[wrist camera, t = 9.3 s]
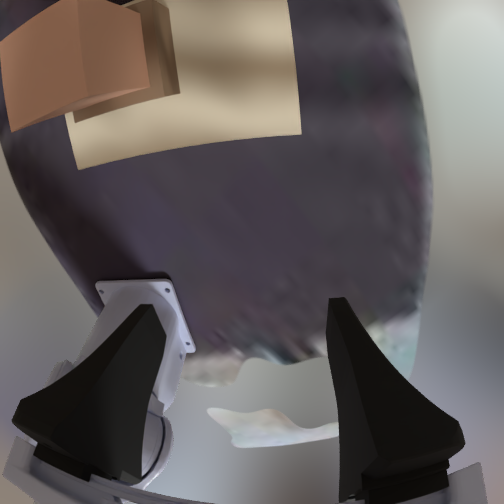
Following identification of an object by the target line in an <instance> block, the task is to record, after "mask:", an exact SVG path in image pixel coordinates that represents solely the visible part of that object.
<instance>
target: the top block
mask: <svg viewBox="0 0 504 504" xmlns="http://www.w3.org/2000/svg"><path fill="white" fill-rule="evenodd" d="M0 58H1V70H2V80H3V88H4V95H5V101H6V107H7V113H8V118H9V123H10V128H11V133H12V132H15V131H17V130H20V129H22V128H25V127H27V126H30V125H33V124H35V123H38V122H41V121H44V120H47V119H50V118H53V117H56V116H59V115H62V114H66V113H69V112H73V111H76V110H80V109H83V108H86V107H88V106H91V105H94V104H97V103H99V102H102V101H105V100H108V99H111V98H114V97H117V96H120V95H124V94H127V93H130V92H134V91H137V90H141V89H144V88H148V87H150V83H149V76H148V70H147V63H146V56H145V49H144V41H143V34H142V25H141V16H140V13H138V12H135V11H133V10H130V9H128V8H125V7H123V6H120V5H118V4H115V3H112V2H109V1H107V0H60V1H58V2H56V3H55V4H53V5H51V6H50V7H48V8H47V9H45V10H44V11H42V12H40V13H39V14H37V15H36V16H34V17H33V18H32V19H30V20H29V21H27V22H26V23H24V24H23V25H22V26H20V27H19V28H18V29H16V30H15V31H14V32H12V33H11V34H10V35H9V36H7V37H6V38H5V39H4V40H2V41H1V42H0Z"/></svg>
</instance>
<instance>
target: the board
mask: <svg viewBox="0 0 504 504" xmlns="http://www.w3.org/2000/svg"><path fill="white" fill-rule="evenodd" d="M141 1H144V0H134V1H132V2H129V3H126V4H123V5H121V6H123V7H127V6H129V5H132V4H135V3H138V2H141ZM156 1H157V2H159V3H160V4H162V5H164V6H165V7H167V8H168V9H169V13H170V22H171V30H172V38H173V45H174V52H175V60H176V67H177V73H178V80H179V87H180V93H181V94H176V95H171V96H167V97H162V98H158V99H154V100H150V101H146V102H142V103H138V104H135V105H131V106H128V107H124V108H121V109H117V110H114V111H111V112H108V113H105V114H101V115H98V116H95V117H92V118H89V119H86V120H83V121H80V122H77V123H75V122H74V117H73V112H69V113H66V114H65V117H66V122H67V127H68V131H69V135H70V140H71V144H72V148H73V152H74V156H75V159H76V163H77V167H78V170H80V169H84V168H88V167H91V166H95V165H99V164H103V163H107V162H111V161H115V160H120V159H124V158H129V157H133V156H138V155H143V154H148V153H153V152H158V151H163V150H169V149H174V148H180V147H186V146H193V145H199V144H206V143H213V142H221V141H229V140H238V139H247V138H258V137H269V136H283V135H300V134H301V121H300V109H299V97H298V86H297V76H296V66H295V57H294V49H293V40H292V32H291V25H290V17H289V10H288V4H287V0H156Z"/></svg>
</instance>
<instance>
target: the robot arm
mask: <svg viewBox="0 0 504 504" xmlns="http://www.w3.org/2000/svg"><path fill="white" fill-rule="evenodd" d="M95 287H96V289H97V291H98V293H99V295H100V297H101V299H102V301H103V303H104V305H105V307H104V309H103V311H102V312H101V314H100V316H99V318H98V319H97V321H96V323H95V325H94V327H93V329H92V331H91V333H90V334H89V336H88V338H87V340H86V342H85V344H84V346H83V348H82V350H81V352H80V354H79V355H78V357H77V359H76V361H75V362H74V364H73V365H72V363H71V362H69V361H68V360H65V361H64V362H57V364H56V365H55V367H54V369H53V371H52V372H51V374H50V376H49V378H48V380H47V382H46V384H45V386H44V388H43V389H42V390H40V391H38V392H36V393H35V394H32V395H30V396H28V397H26V398H24V399H21V400H20V403H19V405H18V407H17V409H16V411H15V414H14V416H13V419H12V423H13V424H14V425H15V426H16V427H17V428H19V429H20V430H21V431H22V432H24V433H25V436H24V439H25V440H23V439H21V438H19V437H18V436H17V437H16V438H15V440H14V443H13V446H12V448H11V451H10V454H9V456H8V459H7V462H6V465H5V468H4V471H3V474H2V475H3V476H4V477H5V478H6V479H7V480H9V481H10V482H12V483H13V484H14V485H16V486H17V487H18V488H19V489H21V490H22V491H23V492H25V493H26V494H27V495H29V496H30V497H31V498H33V499H34V500H35V501H34V504H123V503H126V502H134V503H137V504H213V503H204V502H198V501H192V500H186V499H180V498H175V497H170V496H165V495H161V494H156V493H152V492H148V491H144V490H145V488H146V487H147V486H148V485H149V483H150V482H151V481H152V480H153V479H154V478H156V477H157V476H159V475H160V474H161V473H162V471H163V470H164V469H165V467H166V465H167V463H168V461H169V459H170V456H171V453H172V449H173V432H172V428H171V424H170V422H169V420H168V419H167V418H166V417H165V416H163V412H164V411H165V410H166V409H168V408H169V406H170V405H171V404H172V402H173V401H174V399H175V396H176V392H177V388H178V384H179V380H180V376H181V372H182V368H183V364H184V360H185V356H186V352H187V353H193V352H195V350H196V347H195V344H194V342H193V339H192V337H191V334H190V331H189V329H188V326H187V323H186V321H185V318H184V315H183V312H182V310H181V307H180V304H179V301H178V298H177V295H176V293H175V290H174V287H173V284H172V282H171V281H170V280H169V279H144V280H116V281H97V283H96V284H95ZM166 288H168V289H170V290H168V289H166ZM102 290H103V291H102ZM326 340H327V351H328V359H329V364H330V369H331V374H332V379H333V385H334V390H335V395H336V400H337V408H338V421H339V443H340V480H339V503H338V504H487V496H486V490H485V484H484V478H483V473H482V468H481V464H480V463H479V462H477V463H475V464H473V465H471V466H468V467H466V468H463V469H461V470H458V471H456V472H454V473H451V474H449V475H447V470H446V469H448V468H449V466H450V465H449V460H448V459H449V458H451V457H452V456H453V455H455V454H456V453H458V452H459V451H460V450H461V449H462V448H463V447H464V445H465V440H464V436H463V432H462V429H461V427H460V425H459V422H458V421H457V420H455V419H454V418H453V417H451V416H450V415H448V414H447V413H445V412H444V411H442V410H441V409H440V408H438V407H437V406H436V405H435V404H433V403H432V402H430V401H429V400H428V399H427V398H426V397H425V396H424V395H422V394H421V393H420V392H419V391H418V390H417V389H416V388H414V386H412V385H411V384H410V383H409V382H408V381H407V380H406V379H405V378H404V377H403V376H402V375H401V374H400V373H399V372H398V370H397V369H396V368H395V367H394V366H393V365H392V364H391V363H390V362H389V360H388V359H387V358H386V357H385V356H384V354H383V353H382V352H381V350H380V349H379V348H378V347H377V345H376V344H375V343H374V341H373V340H372V339H371V337H370V336H369V334H368V333H367V331H366V330H365V329H364V327H363V326H362V324H361V323H360V321H359V319H358V318H357V316H356V315H355V313H354V311H353V310H352V308H351V306H350V305H349V303H348V301H347V299H346V298H345V297H341V298H329V304H328V316H327V326H326Z"/></svg>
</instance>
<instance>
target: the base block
mask: <svg viewBox="0 0 504 504" xmlns="http://www.w3.org/2000/svg"><path fill="white" fill-rule="evenodd" d="M125 8H128V9H130V10H133V11H135V12H138V13H140V16H141V25H142V34H143V41H144V49H145V56H146V63H147V70H148V76H149V83H150V87H148V88H144V89H141V90H137V91H134V92H130V93H127V94H124V95H120V96H117V97H114V98H111V99H108V100H105V101H102V102H99V103H97V104H94V105H91V106H88V107H86V108H83V109H80V110H76V111H73V117H74V122H75V123H77V122H80V121H83V120H86V119H89V118H92V117H95V116H98V115H101V114H105V113H108V112H111V111H114V110H117V109H121V108H124V107H128V106H131V105H135V104H138V103H142V102H146V101H150V100H154V99H158V98H162V97H167V96H171V95H176V94H181V93H180V87H179V80H178V73H177V67H176V60H175V52H174V45H173V38H172V30H171V22H170V13H169V9H168V8H167V7H165V6H164V5H162V4H160V3H159V2H157V1H156V0H144V1H141V2H138V3H135V4H132V5H129V6H127V7H125Z"/></svg>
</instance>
